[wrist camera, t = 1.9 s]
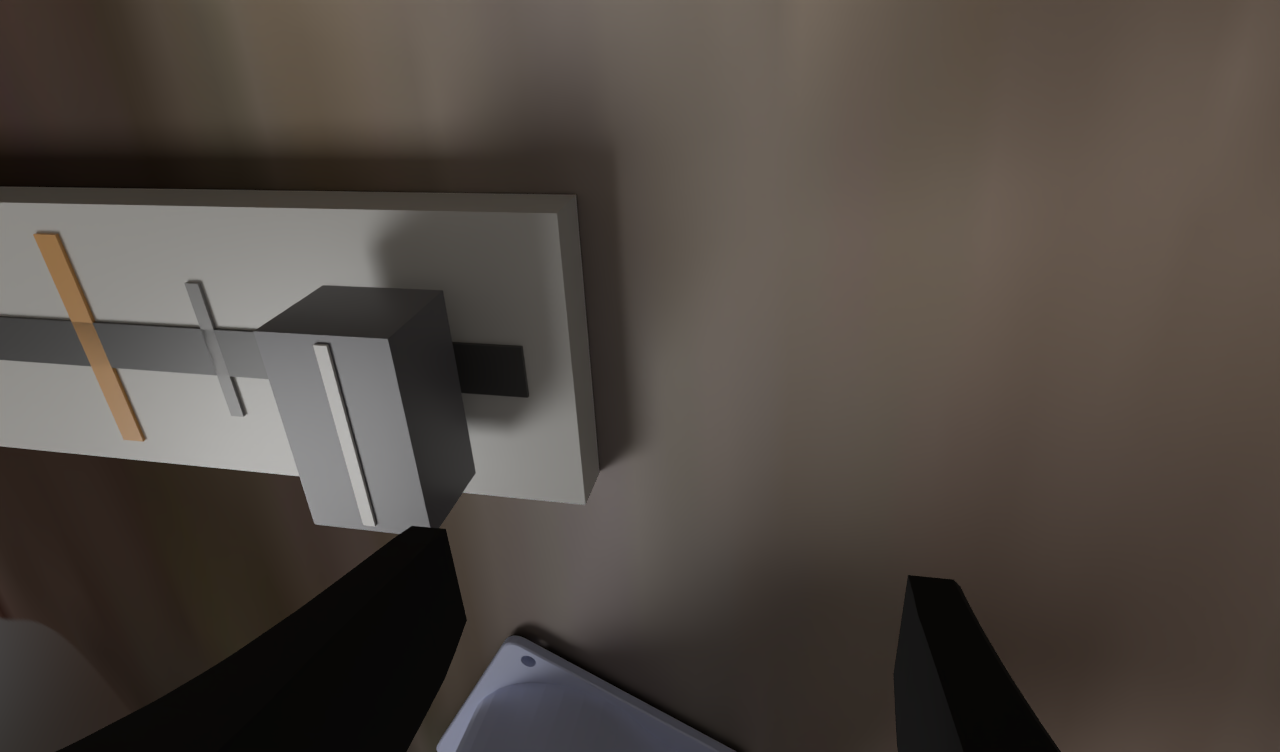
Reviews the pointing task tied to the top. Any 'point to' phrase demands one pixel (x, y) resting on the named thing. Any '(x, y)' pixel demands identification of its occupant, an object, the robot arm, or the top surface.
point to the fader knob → (371, 405)
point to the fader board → (265, 287)
